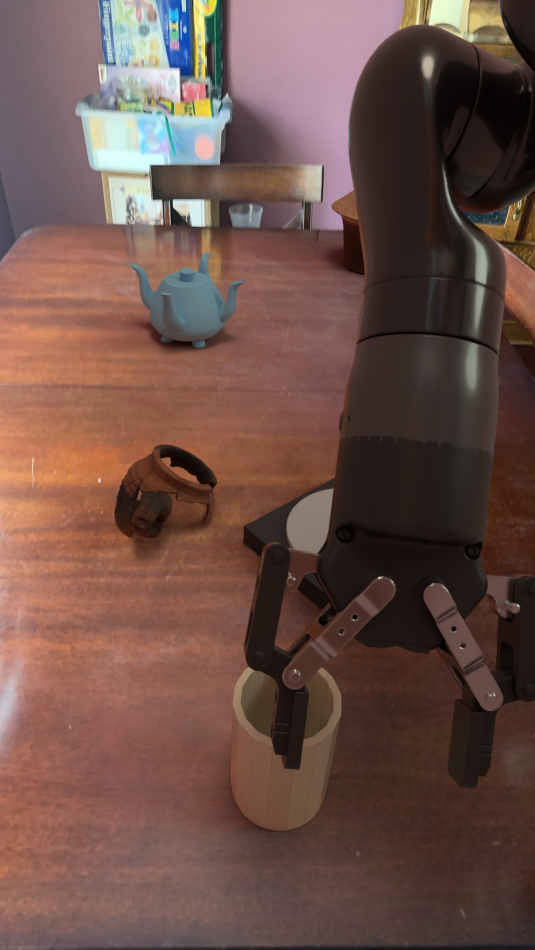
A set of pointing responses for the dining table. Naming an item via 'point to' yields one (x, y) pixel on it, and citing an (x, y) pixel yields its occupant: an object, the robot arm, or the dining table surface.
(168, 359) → the dining table surface
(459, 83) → the robot arm
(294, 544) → the scale
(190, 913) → the dining table surface
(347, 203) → the pitcher
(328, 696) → the cup
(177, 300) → the teapot
